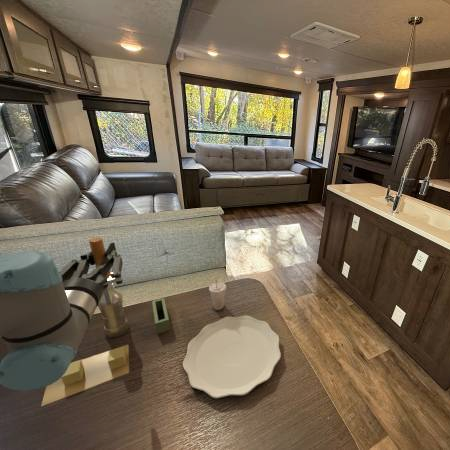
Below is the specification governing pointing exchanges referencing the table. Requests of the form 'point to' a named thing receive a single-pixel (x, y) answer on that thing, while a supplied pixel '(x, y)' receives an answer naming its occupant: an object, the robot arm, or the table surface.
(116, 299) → the plastic bottle
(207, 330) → the plate
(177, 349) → the table surface
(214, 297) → the smoothie
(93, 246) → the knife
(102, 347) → the table surface
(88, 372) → the cutting board
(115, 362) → the butter right
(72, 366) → the butter left
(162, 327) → the green rectangular holder
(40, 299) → the robot arm
